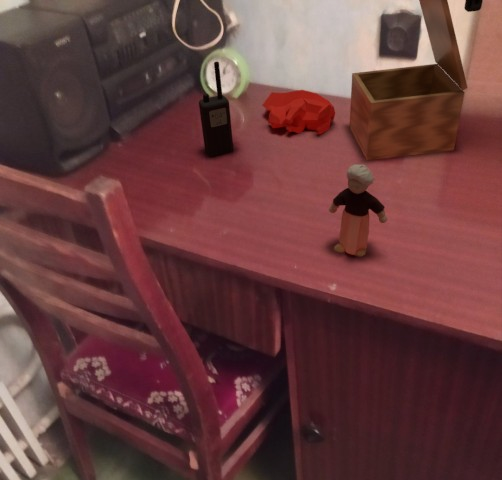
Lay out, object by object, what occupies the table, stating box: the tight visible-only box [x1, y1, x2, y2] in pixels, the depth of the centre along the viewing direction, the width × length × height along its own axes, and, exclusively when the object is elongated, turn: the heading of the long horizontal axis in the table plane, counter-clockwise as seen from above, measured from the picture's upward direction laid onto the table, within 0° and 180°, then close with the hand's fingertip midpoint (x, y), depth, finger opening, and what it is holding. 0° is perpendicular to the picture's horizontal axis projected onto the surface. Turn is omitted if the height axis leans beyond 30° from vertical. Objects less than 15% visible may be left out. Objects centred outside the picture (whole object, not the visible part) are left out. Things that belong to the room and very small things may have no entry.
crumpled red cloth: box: [262, 89, 336, 135], centre depth 107 cm, size 12×15×5 cm
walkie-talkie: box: [198, 61, 235, 158], centre depth 97 cm, size 5×3×15 cm
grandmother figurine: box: [328, 163, 388, 257], centre depth 74 cm, size 8×4×13 cm, turn 73°
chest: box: [349, 63, 465, 161], centre depth 98 cm, size 15×13×10 cm
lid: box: [418, 0, 468, 91], centre depth 88 cm, size 15×13×5 cm
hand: (461, 2), depth 87 cm, fingers open, 8 cm apart
